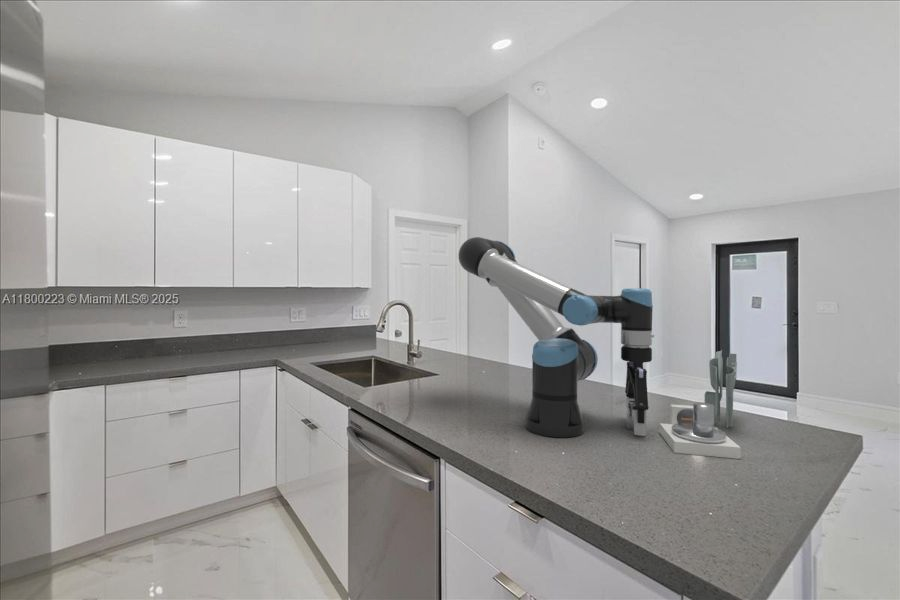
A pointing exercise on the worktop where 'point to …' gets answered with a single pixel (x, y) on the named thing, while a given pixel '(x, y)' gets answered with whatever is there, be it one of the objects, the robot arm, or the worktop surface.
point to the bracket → (717, 381)
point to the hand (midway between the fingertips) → (635, 427)
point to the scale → (693, 447)
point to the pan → (687, 433)
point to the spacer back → (630, 415)
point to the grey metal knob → (703, 419)
